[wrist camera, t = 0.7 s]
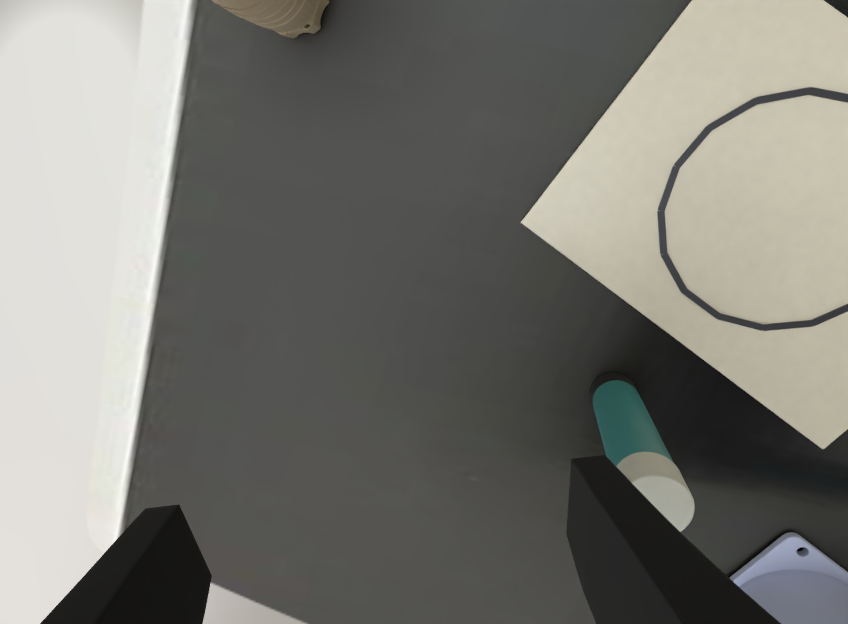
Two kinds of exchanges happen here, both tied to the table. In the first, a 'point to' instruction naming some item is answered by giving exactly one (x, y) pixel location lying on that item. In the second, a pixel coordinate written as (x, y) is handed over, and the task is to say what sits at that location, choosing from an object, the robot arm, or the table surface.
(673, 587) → the robot arm
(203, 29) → the table surface
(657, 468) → the marker
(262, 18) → the handle
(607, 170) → the drawing pad
